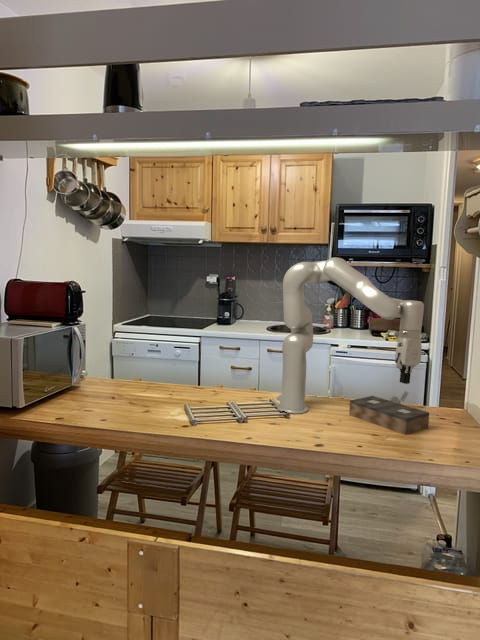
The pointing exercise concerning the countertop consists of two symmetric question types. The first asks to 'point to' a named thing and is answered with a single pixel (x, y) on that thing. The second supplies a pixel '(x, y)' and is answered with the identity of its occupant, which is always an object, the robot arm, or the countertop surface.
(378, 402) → the peg
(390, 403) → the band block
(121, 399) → the countertop surface
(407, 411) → the peg
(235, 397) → the countertop surface
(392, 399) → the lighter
